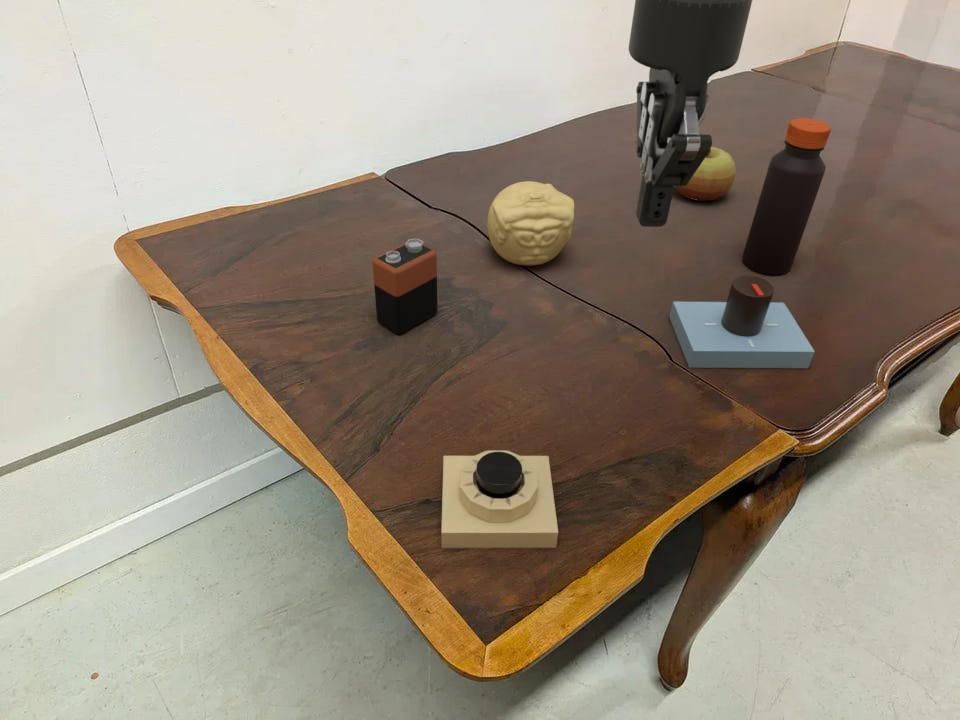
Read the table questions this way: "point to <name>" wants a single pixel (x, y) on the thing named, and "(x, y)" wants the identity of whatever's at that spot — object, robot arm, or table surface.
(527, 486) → the button box
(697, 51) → the robot arm
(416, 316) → the battery
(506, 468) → the button
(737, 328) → the knob
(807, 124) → the bottle
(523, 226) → the sculpture
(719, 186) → the apple
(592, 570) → the table surface
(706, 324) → the panel
